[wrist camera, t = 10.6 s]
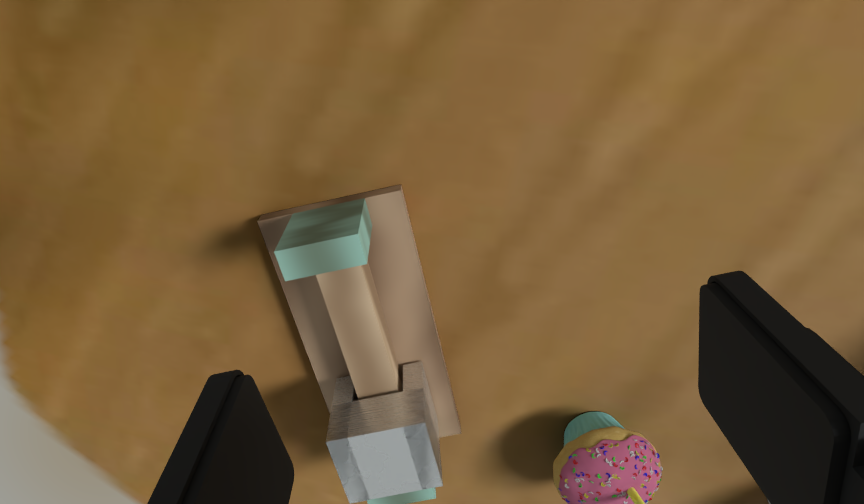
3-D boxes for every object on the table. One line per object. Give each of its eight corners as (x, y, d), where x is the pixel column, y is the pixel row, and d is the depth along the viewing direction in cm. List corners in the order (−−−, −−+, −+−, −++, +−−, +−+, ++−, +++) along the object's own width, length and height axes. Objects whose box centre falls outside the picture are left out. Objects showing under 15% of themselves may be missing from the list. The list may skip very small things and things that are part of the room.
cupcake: (609, 378, 46) (672, 497, 35) (656, 437, 49) (726, 563, 39) (523, 428, 48) (558, 556, 37) (574, 482, 51) (619, 614, 41)
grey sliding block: (421, 361, 43) (424, 422, 37) (437, 419, 45) (442, 485, 39) (336, 378, 43) (325, 442, 37) (356, 435, 46) (349, 503, 40)
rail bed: (401, 184, 38) (400, 224, 32) (460, 423, 48) (468, 491, 41) (261, 214, 39) (232, 260, 32) (347, 445, 48) (338, 516, 42)
